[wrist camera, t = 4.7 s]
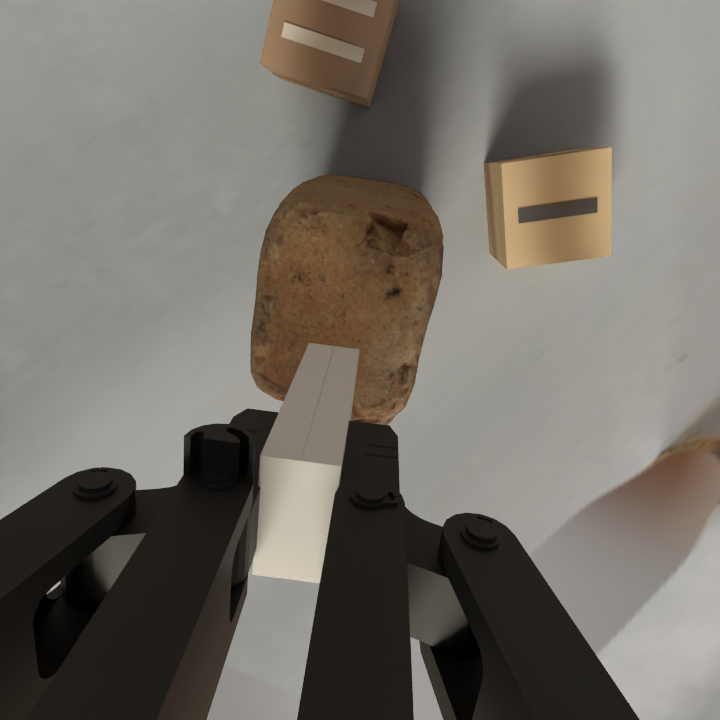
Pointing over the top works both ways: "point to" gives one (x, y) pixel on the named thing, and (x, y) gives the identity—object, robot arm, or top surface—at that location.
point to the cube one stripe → (549, 207)
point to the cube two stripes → (330, 44)
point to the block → (348, 287)
